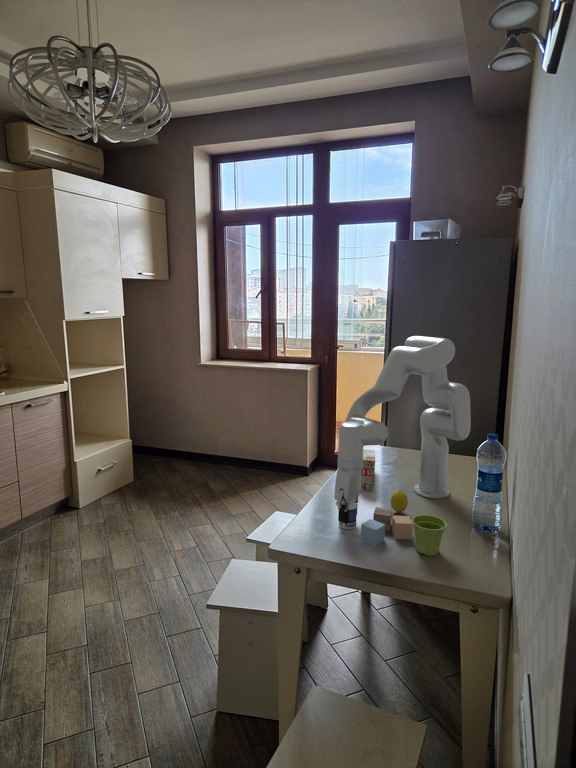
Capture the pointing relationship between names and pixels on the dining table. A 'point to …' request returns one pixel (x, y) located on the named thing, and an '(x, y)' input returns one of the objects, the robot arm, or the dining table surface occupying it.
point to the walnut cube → (383, 516)
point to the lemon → (399, 501)
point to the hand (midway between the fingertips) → (347, 517)
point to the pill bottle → (350, 515)
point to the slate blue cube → (372, 532)
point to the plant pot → (428, 533)
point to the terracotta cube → (402, 527)
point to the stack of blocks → (368, 470)
